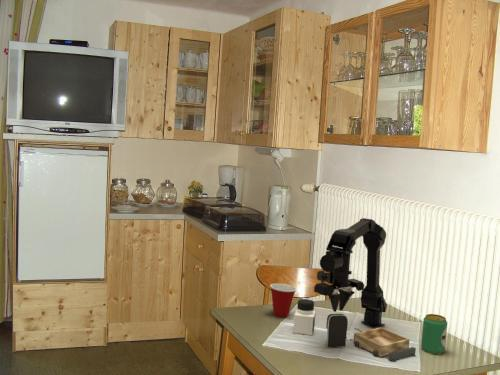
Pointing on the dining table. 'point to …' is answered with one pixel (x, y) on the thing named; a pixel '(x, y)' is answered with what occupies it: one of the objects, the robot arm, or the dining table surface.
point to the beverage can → (434, 334)
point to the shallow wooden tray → (380, 341)
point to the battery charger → (336, 330)
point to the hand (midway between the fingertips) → (337, 310)
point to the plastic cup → (282, 298)
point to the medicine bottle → (304, 317)
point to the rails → (398, 352)
